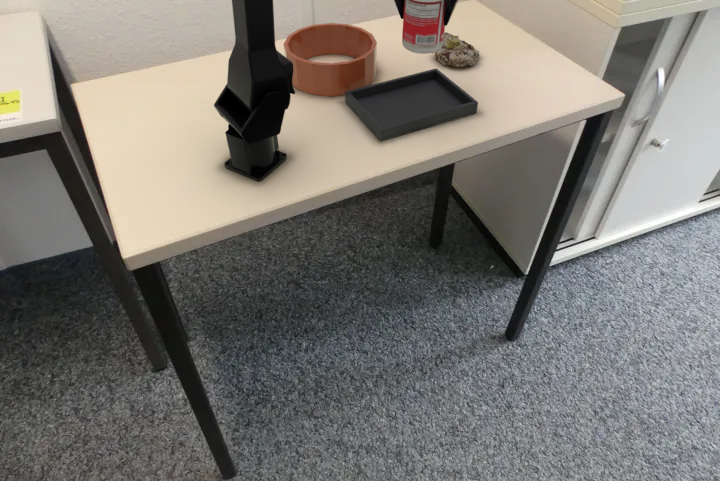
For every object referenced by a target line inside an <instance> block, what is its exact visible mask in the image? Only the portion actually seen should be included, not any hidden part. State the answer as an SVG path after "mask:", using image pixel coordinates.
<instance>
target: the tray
mask: <svg viewBox="0 0 720 481" xmlns="http://www.w3.org/2000/svg"><path fill="white" fill-rule="evenodd" d="M344 98H345V100H344V101H345V104H346V105H347V106H348V107H349V108H350V109H351V111H353V113H354V114H355V115H356V116H357V117H358V119H359V120H360V121H361V122H362V123H363V124H364V125H365V126H366V127H367V128H368V129H369V131H370V132H371V133H372V134H373V135H374V136H375V137H376V139H377V140H379V141H380V142H384V141H387V140H390V139H391V140H392V139H394V138H398V137H401V136H404V135H407V134H411V133H414V132H417V131H421V130H424V129H428V128H431V127H435V126H438V125H442V124H445V123H449V122H451V121H455V120H458V119H459V120H460V119H462V118H465V117H468V116H469V117H470V116H472V115H476V114H477V111H478V106H479V102H478V101H477V100H476V99H475V98H474V97H472V96H471V95H470V94H469V93H468V92H466V91H465V90H464V89H463V88H461V87H460V86H459V85H458V84H456V82H454V81H453V80H451V79H450V78H449V77H448V76H446V75H445V74H444V73H443V72H441V70H439V69H438V68H433V69H428V70H424V71H420V72H416V73H413V74H409V75H405V76H401V77H396V78H392V79H389V80H385V81H380V82H377V83H373V84H369V85H368V86H365V87H361V88H357V89H353V90H349V91H345V95H344Z"/></svg>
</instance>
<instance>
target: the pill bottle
mask: <svg viewBox="0 0 720 481" xmlns="http://www.w3.org/2000/svg"><path fill="white" fill-rule="evenodd" d="M446 5H447V0H404V16H403V19H402V32H401V33H402V36H401V44H402V46H403V48H404V49H406V50H407V51H409V52H411V53H415V54H420V55H424V54H425V55H426V54H431V53H436V52H437V51H438V50H439V49H440V48H441V47H442V45H443V39H444V33H445V29H446V26H444V16H445V10H446Z"/></svg>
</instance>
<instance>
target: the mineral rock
mask: <svg viewBox="0 0 720 481" xmlns="http://www.w3.org/2000/svg"><path fill="white" fill-rule="evenodd" d="M434 53H435V54H434V56H435V58H436V60H437V62H438V63H440V64H441V65H442V66H453V67H457V68H458V67H465V66H470V67H472V66H474V65H475V64H476V63H477V61H478V59H479V58H480V55H481V54H480V51H479V50H478V49H476V48H475V47H474V45H473V44H471V43H470V44H469V43H468V42H466V41H465V40H463V39H460V37H459V35H453V34H452V33H449V32H445V31H444V39H443V45H442V47H441V48H440V49H439V50H437V51H435V52H434Z"/></svg>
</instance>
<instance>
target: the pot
mask: <svg viewBox="0 0 720 481" xmlns="http://www.w3.org/2000/svg"><path fill="white" fill-rule="evenodd" d="M377 47H378V41H377V39H376V38H375V36H374V35H373V34H372V33H371V32H370V31H368V30H366V29H364V28H362V27H359V26H356V25H352V24H349V23H336V22H327V23H317V24H311V25H307V26H305V27H302V28H298V29H296V30H295V31H294V32H292V33H289V35H287V37H286V39H285V40H284V42H283V55H284V56H285V57H286V58H287V59H288V60H290V61H291V62H292V63H293V69H294V71H293V78H292V84H293V87H295V89H297V90H298V91H301V92H303V93H307V94H310V95H313V96H323V97H337V96H345V91H349V90H353V89H357V88H361V87H365V86H369V85H371V83H373V82H374V81H375V78H376V74H377V51H378V50H377V49H378V48H377ZM325 55H339V56H347V57H352V58H353V59H350V60H347V61H338V62H321V61H319V62H317V61H312V60H308V59H311V58H313V57H316V56H325Z"/></svg>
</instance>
